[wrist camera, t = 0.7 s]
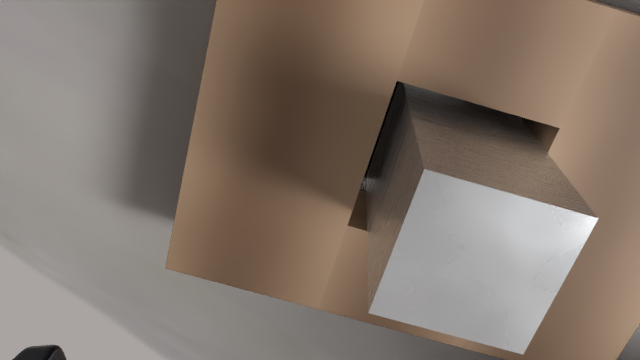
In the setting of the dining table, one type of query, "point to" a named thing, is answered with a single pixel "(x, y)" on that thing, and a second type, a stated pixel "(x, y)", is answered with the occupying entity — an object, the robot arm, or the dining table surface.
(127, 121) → the dining table surface
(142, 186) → the dining table surface
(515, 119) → the steel peg
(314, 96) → the walnut socket block
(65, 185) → the dining table surface
